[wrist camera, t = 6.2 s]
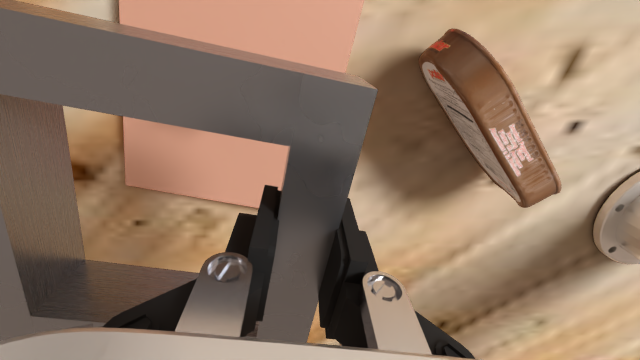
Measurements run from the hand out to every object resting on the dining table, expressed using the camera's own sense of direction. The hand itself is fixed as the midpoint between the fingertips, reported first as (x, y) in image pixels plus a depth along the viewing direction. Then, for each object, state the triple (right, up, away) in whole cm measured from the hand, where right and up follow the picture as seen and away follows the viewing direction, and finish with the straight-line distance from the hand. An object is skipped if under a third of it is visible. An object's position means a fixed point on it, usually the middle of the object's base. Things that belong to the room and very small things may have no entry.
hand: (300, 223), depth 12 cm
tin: (+13, +8, +14) cm, 21 cm away
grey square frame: (-5, +1, 0) cm, 5 cm away
